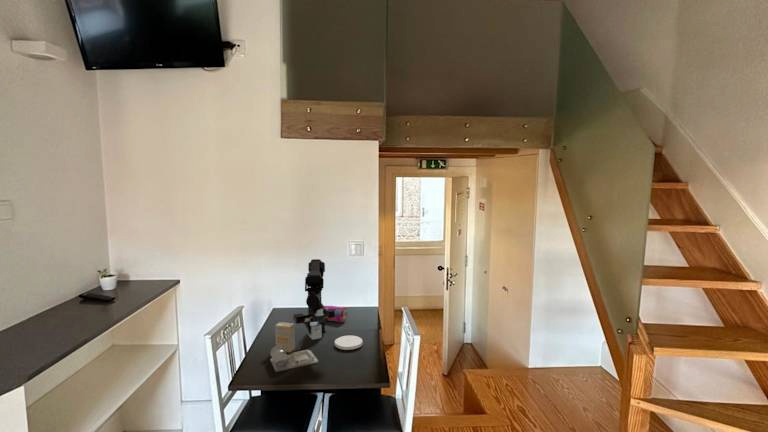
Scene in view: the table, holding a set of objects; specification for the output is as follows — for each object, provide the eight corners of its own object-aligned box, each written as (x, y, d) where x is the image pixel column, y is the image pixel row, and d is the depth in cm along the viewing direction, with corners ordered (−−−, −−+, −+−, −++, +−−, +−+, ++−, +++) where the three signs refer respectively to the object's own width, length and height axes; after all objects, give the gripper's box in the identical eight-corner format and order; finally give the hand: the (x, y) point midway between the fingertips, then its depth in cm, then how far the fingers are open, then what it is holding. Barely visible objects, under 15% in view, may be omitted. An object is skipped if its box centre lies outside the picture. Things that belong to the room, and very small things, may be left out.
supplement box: (295, 349, 188) (294, 323, 187) (290, 353, 184) (289, 326, 182) (281, 346, 191) (280, 321, 190) (275, 350, 186) (274, 324, 185)
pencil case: (308, 320, 228) (308, 305, 228) (317, 315, 237) (316, 301, 236) (341, 325, 221) (341, 309, 220) (348, 319, 229) (348, 305, 229)
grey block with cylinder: (317, 333, 182) (317, 321, 182) (323, 339, 175) (323, 326, 175) (308, 335, 180) (308, 322, 179) (313, 341, 173) (313, 328, 172)
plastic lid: (362, 339, 200) (362, 335, 200) (362, 351, 186) (362, 346, 186) (336, 340, 200) (336, 335, 199) (333, 352, 186) (333, 347, 185)
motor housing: (310, 352, 185) (310, 338, 184) (318, 362, 174) (317, 347, 173) (270, 360, 176) (269, 346, 175) (275, 372, 165) (275, 356, 165)
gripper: (299, 309, 166) (300, 343, 167) (339, 302, 174) (339, 335, 176) (292, 302, 175) (293, 335, 177) (330, 296, 184) (331, 327, 185)
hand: (314, 333), depth 178 cm, fingers closed on grey block with cylinder, 4 cm apart
